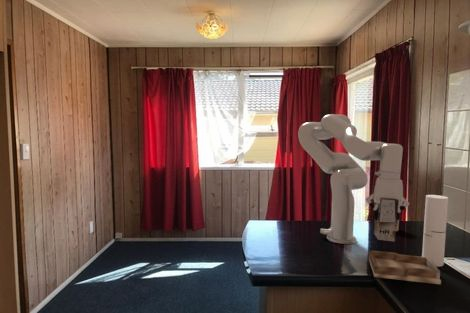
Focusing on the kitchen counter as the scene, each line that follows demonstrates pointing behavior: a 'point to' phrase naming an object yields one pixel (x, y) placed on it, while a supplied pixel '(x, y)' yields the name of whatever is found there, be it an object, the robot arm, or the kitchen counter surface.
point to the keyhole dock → (403, 267)
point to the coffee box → (386, 219)
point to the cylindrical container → (435, 228)
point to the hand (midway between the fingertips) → (385, 220)
